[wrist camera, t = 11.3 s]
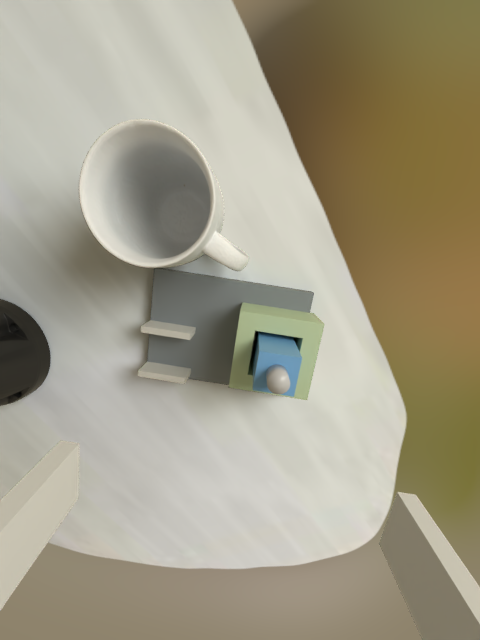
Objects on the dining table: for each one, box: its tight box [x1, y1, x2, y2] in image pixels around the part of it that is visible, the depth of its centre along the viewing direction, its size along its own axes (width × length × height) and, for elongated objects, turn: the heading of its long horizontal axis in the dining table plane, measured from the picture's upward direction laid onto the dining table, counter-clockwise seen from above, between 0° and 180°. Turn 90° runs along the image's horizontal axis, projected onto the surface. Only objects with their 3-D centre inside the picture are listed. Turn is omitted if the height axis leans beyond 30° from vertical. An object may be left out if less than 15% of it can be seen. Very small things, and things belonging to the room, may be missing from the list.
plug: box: [253, 331, 302, 397], centre depth 30 cm, size 4×4×12 cm
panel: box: [138, 268, 314, 385], centre depth 35 cm, size 20×14×4 cm
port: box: [229, 302, 324, 400], centre depth 33 cm, size 9×9×6 cm
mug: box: [79, 119, 249, 271], centre depth 28 cm, size 15×11×13 cm
